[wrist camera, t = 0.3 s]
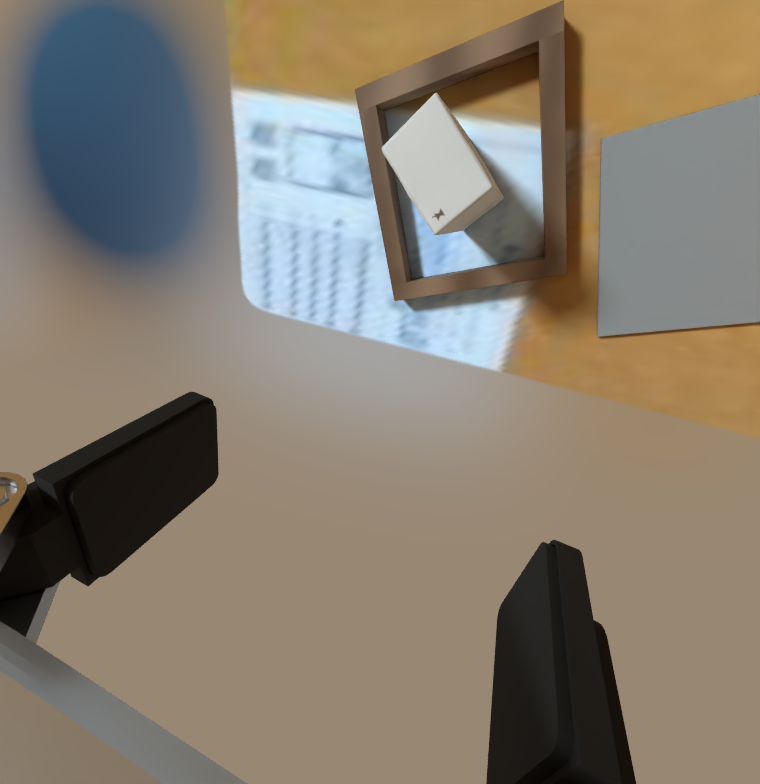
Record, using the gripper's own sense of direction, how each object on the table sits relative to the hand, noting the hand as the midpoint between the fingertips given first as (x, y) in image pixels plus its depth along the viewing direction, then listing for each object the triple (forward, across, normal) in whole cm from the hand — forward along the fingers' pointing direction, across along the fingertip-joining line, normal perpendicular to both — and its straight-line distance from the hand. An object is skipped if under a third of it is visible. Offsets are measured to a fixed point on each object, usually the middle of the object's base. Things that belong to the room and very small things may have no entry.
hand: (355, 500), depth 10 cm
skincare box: (+29, +4, -9) cm, 31 cm away
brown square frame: (+29, +4, -9) cm, 30 cm away
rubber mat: (+29, -15, -10) cm, 34 cm away
